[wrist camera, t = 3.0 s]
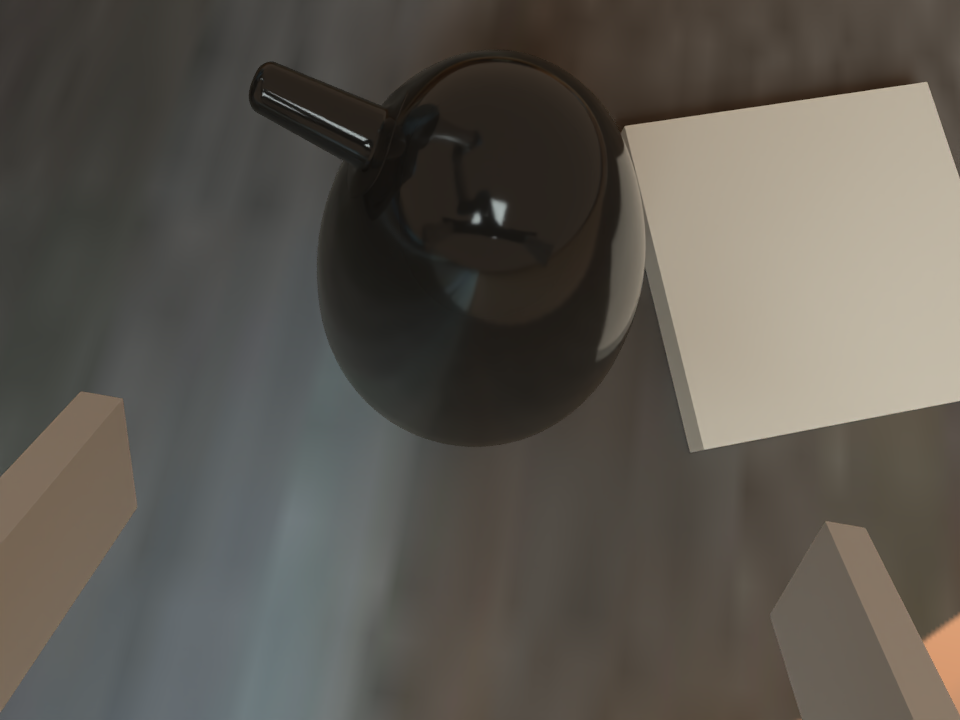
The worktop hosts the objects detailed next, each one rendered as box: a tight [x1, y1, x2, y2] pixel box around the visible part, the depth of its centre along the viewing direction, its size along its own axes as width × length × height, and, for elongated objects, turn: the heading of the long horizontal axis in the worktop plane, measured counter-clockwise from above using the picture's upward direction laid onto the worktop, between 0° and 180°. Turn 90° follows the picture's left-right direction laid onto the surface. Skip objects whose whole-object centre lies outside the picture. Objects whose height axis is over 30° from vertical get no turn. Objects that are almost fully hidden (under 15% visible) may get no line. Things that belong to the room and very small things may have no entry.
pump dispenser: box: [249, 50, 646, 447], centre depth 21 cm, size 10×10×15 cm
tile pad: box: [621, 82, 960, 453], centre depth 29 cm, size 13×13×2 cm
